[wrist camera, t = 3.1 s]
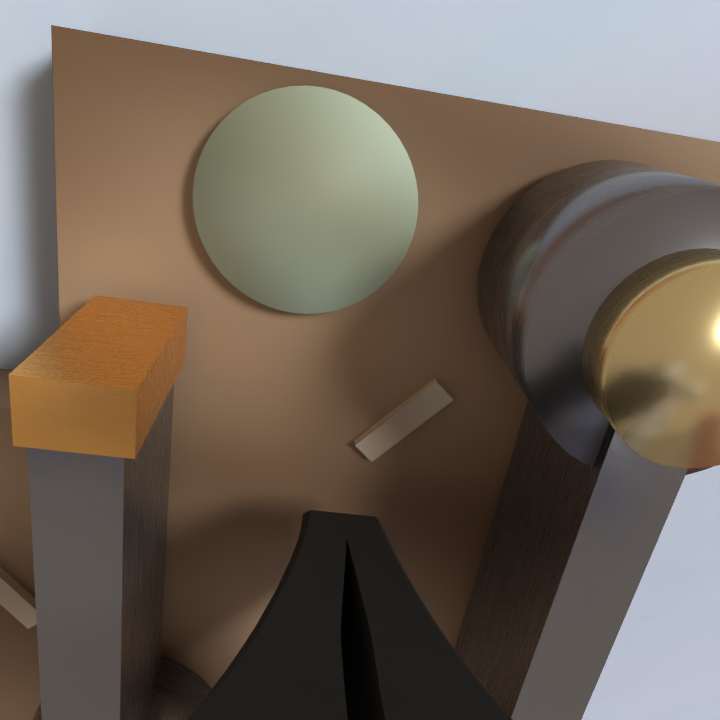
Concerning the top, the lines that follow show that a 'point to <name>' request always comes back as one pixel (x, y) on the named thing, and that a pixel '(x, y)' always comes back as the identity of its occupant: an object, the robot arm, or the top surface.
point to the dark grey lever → (591, 416)
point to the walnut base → (296, 315)
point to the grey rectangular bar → (103, 510)
